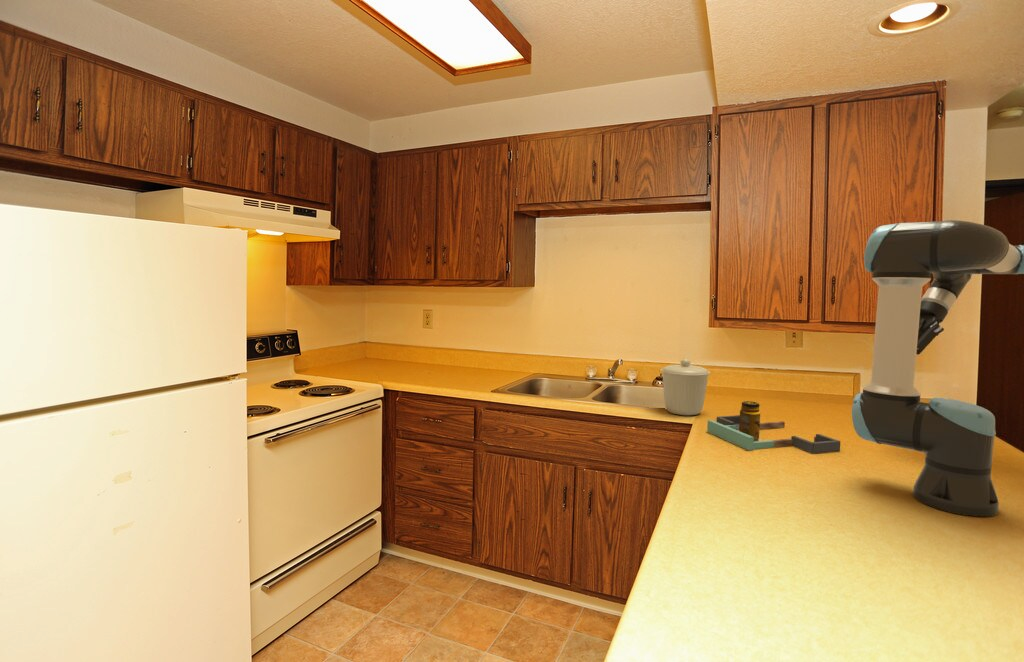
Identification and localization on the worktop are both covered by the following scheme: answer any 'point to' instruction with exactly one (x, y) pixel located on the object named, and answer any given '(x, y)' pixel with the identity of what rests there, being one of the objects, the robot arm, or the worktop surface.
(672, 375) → the canister
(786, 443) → the lane
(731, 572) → the worktop surface
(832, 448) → the trap pits
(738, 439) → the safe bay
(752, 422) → the condiment
